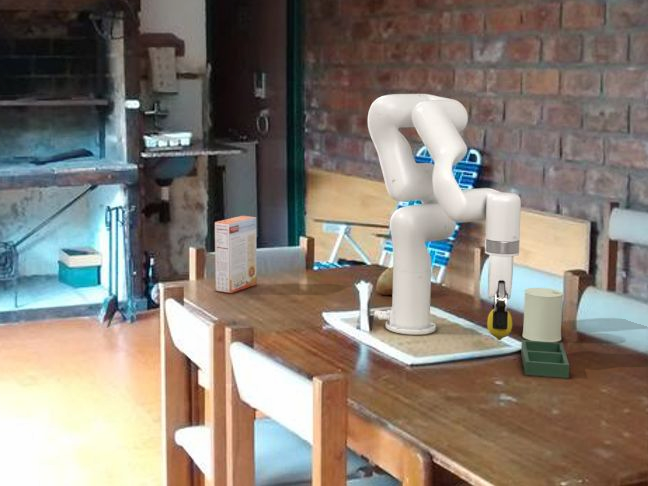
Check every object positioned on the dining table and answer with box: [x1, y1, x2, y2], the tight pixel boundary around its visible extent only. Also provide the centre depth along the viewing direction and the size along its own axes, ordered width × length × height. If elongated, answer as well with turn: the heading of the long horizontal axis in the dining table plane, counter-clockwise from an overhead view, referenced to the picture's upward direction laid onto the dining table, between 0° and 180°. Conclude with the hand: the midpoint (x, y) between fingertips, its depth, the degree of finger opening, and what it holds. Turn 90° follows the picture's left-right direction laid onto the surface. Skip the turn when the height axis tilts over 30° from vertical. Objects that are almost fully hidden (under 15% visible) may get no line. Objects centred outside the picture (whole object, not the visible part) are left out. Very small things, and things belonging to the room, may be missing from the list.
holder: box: [520, 339, 570, 379], centre depth 228 cm, size 9×17×3 cm, turn 167°
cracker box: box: [214, 215, 258, 294], centre depth 300 cm, size 14×6×21 cm, turn 144°
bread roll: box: [375, 266, 393, 296], centre depth 295 cm, size 10×15×8 cm, turn 113°
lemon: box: [486, 309, 513, 341], centre depth 231 cm, size 6×6×8 cm
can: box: [522, 287, 564, 343], centre depth 250 cm, size 9×9×12 cm
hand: (499, 324), depth 231 cm, fingers closed on lemon, 5 cm apart
